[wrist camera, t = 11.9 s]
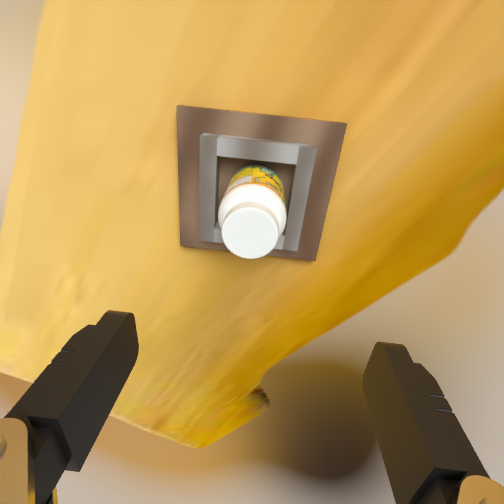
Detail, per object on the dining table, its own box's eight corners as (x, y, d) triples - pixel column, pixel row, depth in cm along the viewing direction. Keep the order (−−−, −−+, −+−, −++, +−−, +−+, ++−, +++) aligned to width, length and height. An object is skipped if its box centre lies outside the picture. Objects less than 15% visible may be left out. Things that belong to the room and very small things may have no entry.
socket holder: (344, 122, 27) (352, 126, 24) (314, 256, 33) (317, 270, 31) (179, 105, 27) (169, 106, 24) (182, 241, 33) (175, 254, 31)
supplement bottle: (218, 179, 29) (196, 217, 20) (268, 153, 27) (266, 182, 19) (245, 225, 31) (234, 277, 22) (292, 203, 29) (300, 249, 21)
